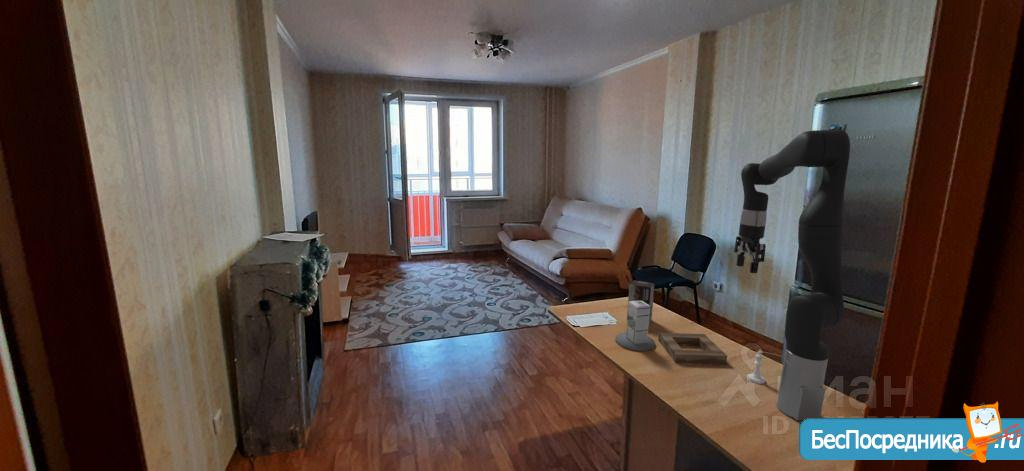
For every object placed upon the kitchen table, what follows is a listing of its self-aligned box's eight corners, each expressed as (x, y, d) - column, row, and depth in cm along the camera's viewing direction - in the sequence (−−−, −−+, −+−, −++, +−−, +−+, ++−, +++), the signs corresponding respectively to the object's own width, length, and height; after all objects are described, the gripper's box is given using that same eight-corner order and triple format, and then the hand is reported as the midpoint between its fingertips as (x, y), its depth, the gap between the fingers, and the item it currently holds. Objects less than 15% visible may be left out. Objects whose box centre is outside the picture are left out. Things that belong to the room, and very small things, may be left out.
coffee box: (652, 319, 174) (655, 283, 171) (648, 324, 168) (651, 287, 165) (630, 315, 178) (633, 279, 175) (626, 319, 173) (629, 283, 170)
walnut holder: (726, 363, 137) (727, 355, 137) (675, 362, 137) (676, 354, 137) (703, 341, 154) (704, 334, 153) (658, 340, 154) (658, 332, 154)
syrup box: (647, 342, 149) (651, 305, 147) (633, 344, 148) (636, 306, 145) (639, 336, 155) (642, 299, 152) (625, 337, 153) (628, 300, 150)
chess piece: (743, 377, 129) (747, 347, 127) (753, 374, 131) (758, 345, 129) (757, 385, 125) (762, 354, 123) (768, 382, 127) (773, 352, 125)
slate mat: (660, 351, 145) (660, 349, 145) (620, 350, 145) (620, 348, 145) (647, 334, 159) (648, 332, 158) (611, 333, 159) (611, 331, 159)
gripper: (730, 219, 146) (725, 263, 149) (753, 226, 132) (746, 275, 135) (752, 220, 146) (746, 264, 149) (776, 227, 132) (769, 275, 135)
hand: (746, 269), depth 142 cm, fingers open, 8 cm apart
